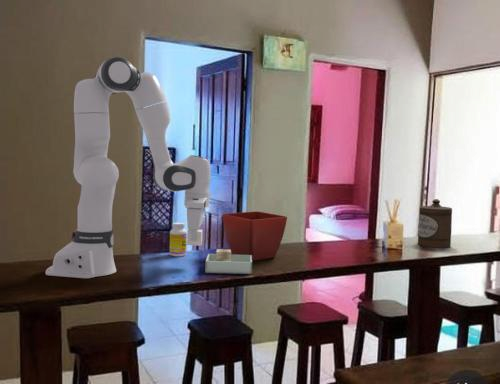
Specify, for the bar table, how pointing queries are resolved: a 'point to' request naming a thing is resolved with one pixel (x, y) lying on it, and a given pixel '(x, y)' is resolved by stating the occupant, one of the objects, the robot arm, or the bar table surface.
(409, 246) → the bar table surface
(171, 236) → the supplement bottle
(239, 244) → the plant pot
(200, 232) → the white cube
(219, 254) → the beech block
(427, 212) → the wooden container
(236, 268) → the tray
